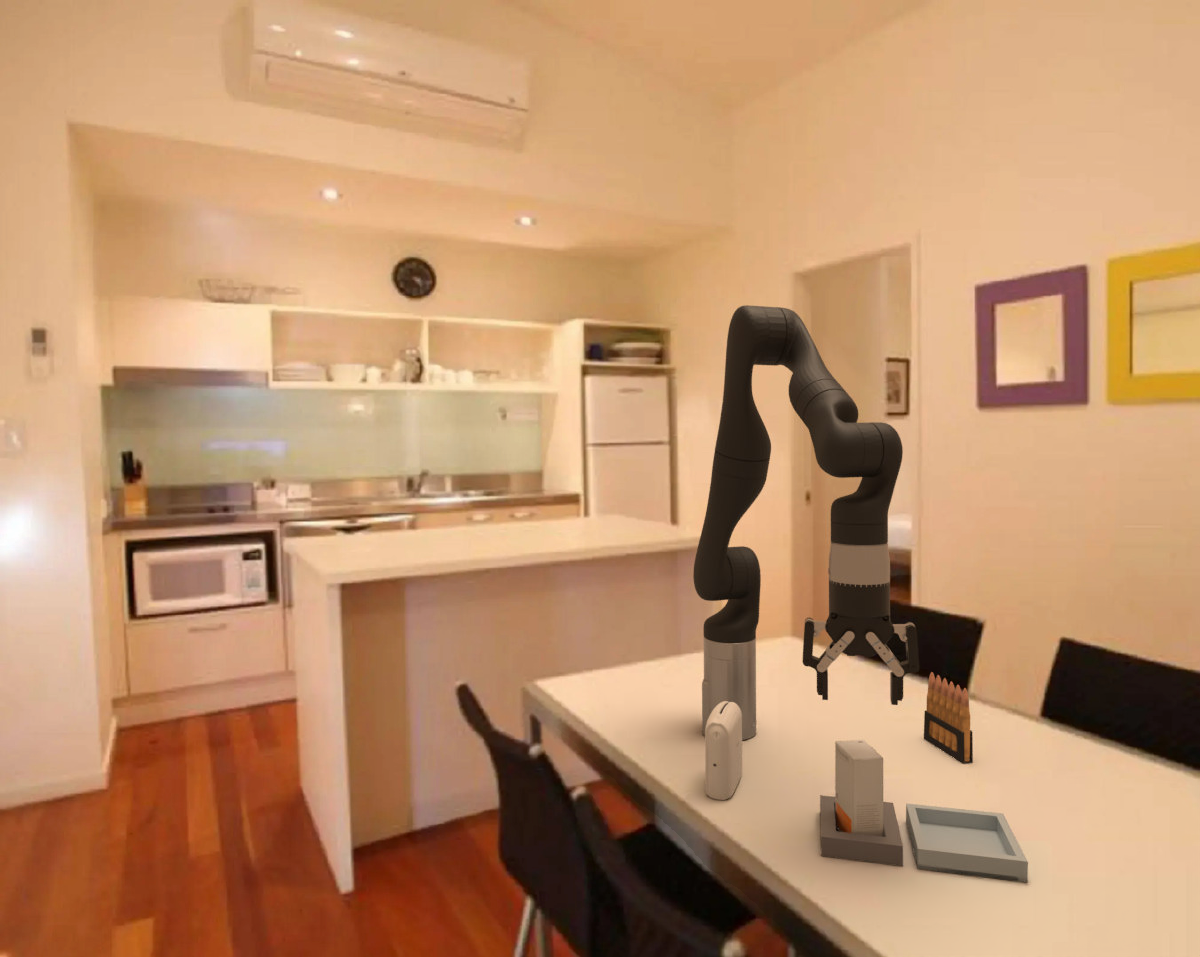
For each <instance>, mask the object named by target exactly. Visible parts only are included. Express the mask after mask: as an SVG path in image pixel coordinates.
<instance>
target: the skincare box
mask: <svg viewBox="0 0 1200 957" xmlns="http://www.w3.org/2000/svg"><path fill="white" fill-rule="evenodd" d="M834 744H835V745H834V746H835V749H834V750H835V751H834V752H835V756H834V760H835V762H834V764H835V765H834V766H835V770H834V771H835V776H834V778H835V779H834V782H835V783H834V784H835V785H834V788H835V789H834V791H835V793H834V794H835V795H834V797H835V826H836V829H837V830H838V832H846V833H855V834H864V835H872V836H881V837H883V802H884V757H883V756H882V755H881V754H880V753H879V752H878V751H877V749H875V748H874V747H873V746H872V745H870V744H869V743H868V742H867V741H866V740H865V739H851V740H848V739H847V740H836V741H835V743H834Z"/></svg>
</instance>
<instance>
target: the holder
mask: <svg viewBox="0 0 1200 957" xmlns="http://www.w3.org/2000/svg"><path fill="white" fill-rule="evenodd" d="M819 819H820V820H819V822H820V852H821V854H820V855H821V857H827V858H834V859H835V858H836V859H841V860H842V859H844V860H850V861H851V860H852V861H860V862H867V863H876V864H883V865H891V866H892V865H893V866H898V867H900V866H901V867H904V866H903V865H904V845H903V841H902V835H901V832H900V827H899V824H898V818H897V813H896V810H895V805H894V802H889V801H883V837H881V836H872V835H864V834H855V833H846V832H840V831H837V830H836V829H837V827H836V826H835V796H830V795H821V794H820V795H819Z"/></svg>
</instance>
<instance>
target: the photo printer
mask: <svg viewBox="0 0 1200 957" xmlns="http://www.w3.org/2000/svg"><path fill="white" fill-rule="evenodd" d="M704 742H705V743H704V746H705V749H704V751H705V752H704V753H705V754H704V755H705V756H704V757H705V758H704V760H705V762H704V763H705V771H704V772H705V774H704V775H705V794H706V796H708V797H709V798H711V799H714V800H718V801H725V800H727V799H731V797H732V796H733V794H734V792H735V791H736V788H737V786H738V785H739V782H740V780H741V778H742V774H743V773H742V772H743V740H742V713H741V710H740V708H739V706H738V705H737V704H736V703H734V702H728V701H724V702H721V703H719V704H718V705H717V706H716V707H715V708H714V709H713V711H712V712H711V714H710V716H709V718H708V720H707V723H706V728H705V735H704Z"/></svg>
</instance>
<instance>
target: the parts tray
mask: <svg viewBox="0 0 1200 957" xmlns="http://www.w3.org/2000/svg"><path fill="white" fill-rule="evenodd" d="M905 822H906V826H907V830H908V834H909V839H910V842H911V847H912V849H913V855H914V859H915V862H916V866H917V867H916V868H917V869H918V870H925V871H934V872H942V873H949V874H950V873H951V874H955V875H956V874H957V875H964V876H965V875H967V876H974V877H981V878H989V879H998V880H1006V881H1013V882H1021V881H1023V883H1028V878H1029V877H1028V876H1029V875H1028V873H1029V868H1028V866H1029V861H1028V859H1027V857H1026V856H1025V854H1024V852H1023V849H1022V848H1021V846H1020V844H1019V842H1018V840H1017V838H1016V836H1015V833H1014V832H1013V830H1012V829H1011V826H1010V824H1009V822H1008V820H1007V819H1006V816H1005V815H1004V813H1002V812H992V811H984V810H973V809H966V808H955V807H954V808H953V807H942V806H937V805H934V806H933V805H926V804H924V805H923V804H914V803H905ZM1024 881H1025V882H1024Z"/></svg>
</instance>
